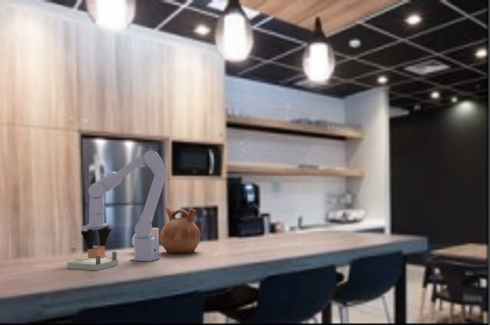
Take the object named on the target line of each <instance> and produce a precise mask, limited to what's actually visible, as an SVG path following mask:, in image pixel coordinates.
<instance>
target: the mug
mask: <svg viewBox="0 0 490 325" xmlns="http://www.w3.org/2000/svg"><path fill="white" fill-rule="evenodd" d="M150 233H151V234H152V235H153V238H157V239H158V240H159V227H152V230H151V232H150ZM134 236H136V233H134V234H133V236H132V238H131V243H132V247H134V238H135V237H134Z"/></svg>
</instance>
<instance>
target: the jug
mask: <svg viewBox="0 0 490 325" xmlns="http://www.w3.org/2000/svg"><path fill="white" fill-rule="evenodd" d="M165 211H166V214H167V217H168V222H166V224H165V225H164V226H163V227H162V228H161V231H160V233H159V241H160V242H159V243H160V244H161V246H162V248H163V249H164V251H166V252H167V254H171V255H187V254H189V255H190V254H192V253H194V252H195V250H196V249H197V248H198V246H199V244H200V240H201V231H200V229H199V227H198V226H197V224H195V222H194V219H195V218H194V217H195V216H196V215H195V214H196V212H197V210H196V209H194V207H192V208H190V209H189V212H188V211H187V210H184V209H183V208H181V209H176V210H171V209H170V208H169V207H165ZM181 213H183V214H184V215H185V216H186V217H176V215H179V214H181Z"/></svg>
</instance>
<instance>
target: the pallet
mask: <svg viewBox="0 0 490 325" xmlns="http://www.w3.org/2000/svg"><path fill="white" fill-rule="evenodd" d="M85 258H88V256H85V257H80V258H76V259H75V261H77V260H81V259H85ZM101 259H112V256H106V255H105V257H104V258H101Z"/></svg>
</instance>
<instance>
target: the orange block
mask: <svg viewBox="0 0 490 325" xmlns="http://www.w3.org/2000/svg"><path fill="white" fill-rule="evenodd" d="M105 253H106V245H105V246H100V245H93V248H92V249H87V257H88V258H96V255H101V258H104V257H105V256H106V255H105Z"/></svg>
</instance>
